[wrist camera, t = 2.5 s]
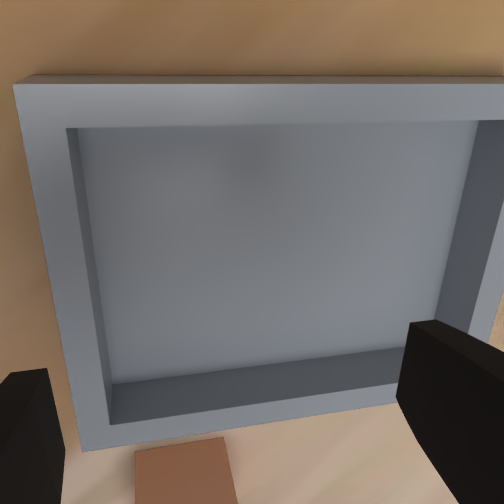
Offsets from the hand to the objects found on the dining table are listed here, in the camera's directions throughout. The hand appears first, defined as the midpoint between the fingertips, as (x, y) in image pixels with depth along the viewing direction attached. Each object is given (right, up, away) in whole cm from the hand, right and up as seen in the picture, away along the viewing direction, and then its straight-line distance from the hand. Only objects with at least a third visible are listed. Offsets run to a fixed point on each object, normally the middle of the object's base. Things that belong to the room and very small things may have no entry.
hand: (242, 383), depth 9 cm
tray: (+2, +3, +11) cm, 11 cm away
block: (-4, -9, +15) cm, 18 cm away
